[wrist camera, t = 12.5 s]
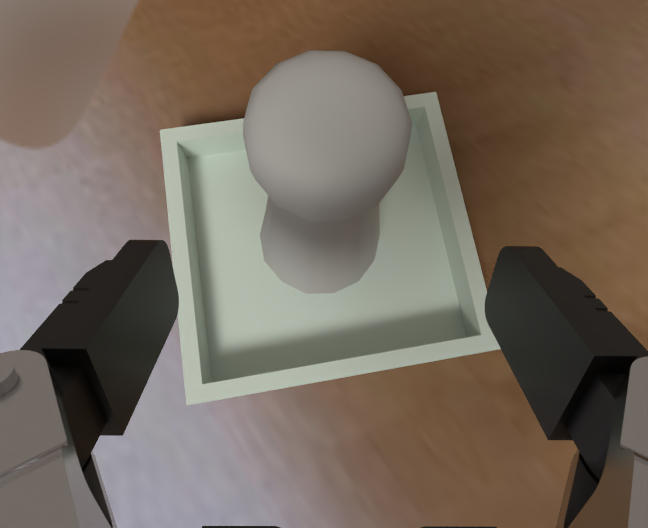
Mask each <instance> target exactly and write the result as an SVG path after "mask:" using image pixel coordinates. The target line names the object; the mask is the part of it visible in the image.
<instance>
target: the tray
mask: <svg viewBox="0 0 648 528" xmlns="http://www.w3.org/2000/svg"><path fill="white" fill-rule="evenodd" d="M404 99H405V102H406V105H407V109H408V112H409V115H410V118H411V121H412V128H411V136H410V141H409V146H408V151H407V156H406V161H405V165H404V170H403V172H402V173H401V175H400V176H399V178H398V180H397V181H396V182H395V183H394V185H393V186H392V187H391V189H390V190H389V191H388V192H387V194H386V195H385V196H384V198H383V199H382V200H381V201H380V203H379V224H380V236H379V241H378V246H377V251H376V256H375V260H374V262H373V263H372V264H371V266H370V267H369V268H368V270H367V271H366V272H365V274H364V275H363V276H362V277H361V279H360V280H359V281H358V282H356V283H354V284H352V285H350V286H348V287H346V288H344V289H342V290H340V291H338V292H335V293H319V294H306V293H304V292H302V291H300V290H298V289H295V288H293V287H291V286H289V285H287V284H285V283H283V282H282V281H281V280H280V279H279V278H278V277H277V275H276V274H275V273H274V272H273V271H272V269H271V268H270V267H269V266H268V265H267V263H266V262H265V261H264V256H263V251H262V245H261V240H260V232H261V227H262V223H263V219H264V215H265V211H266V205H267V199H268V194H267V193H266V192H265V191H264V189H263V188H262V187H261V186H260V185H259V183H258V182H257V181H256V180H255V178H254V176H253V174H252V172H251V171H250V167H249V162H248V157H247V152H246V147H245V142H244V137H243V121H244V118H242V119H235V120H228V121H221V122H214V123H206V124H199V125H192V126H185V127H177V128H170V129H163V130H160V136H161V147H162V157H163V167H164V178H165V188H166V198H167V209H168V219H169V229H170V240H171V250H172V260H173V271H174V276H175V280H176V285H177V289H178V294H179V308H178V322H179V333H180V343H181V353H182V364H183V374H184V384H185V395H186V405H192V404H198V403H203V402H209V401H214V400H220V399H226V398H231V397H237V396H242V395H248V394H253V393H259V392H264V391H270V390H276V389H281V388H287V387H292V386H298V385H303V384H309V383H315V382H320V381H326V380H331V379H337V378H342V377H348V376H353V375H359V374H365V373H370V372H376V371H381V370H387V369H392V368H398V367H403V366H409V365H415V364H420V363H426V362H431V361H437V360H442V359H448V358H454V357H459V356H465V355H470V354H476V353H481V352H487V351H492V350H498V349H501V348H500V346H499V344H498V342H497V340H496V338H495V336H494V335H493V333H492V331H491V329H490V327H489V325H488V323H487V320H486V317H485V298H486V294H487V290H486V286H485V282H484V278H483V274H482V270H481V266H480V262H479V258H478V254H477V251H476V247H475V243H474V239H473V235H472V231H471V227H470V223H469V219H468V215H467V211H466V207H465V203H464V200H463V196H462V192H461V188H460V184H459V180H458V176H457V172H456V168H455V164H454V160H453V156H452V152H451V149H450V145H449V141H448V137H447V133H446V129H445V125H444V121H443V117H442V113H441V109H440V105H439V101H438V98H437V94H436V92H431V93H423V94H416V95H409V96H404Z"/></svg>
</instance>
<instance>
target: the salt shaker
mask: <svg viewBox="0 0 648 528" xmlns="http://www.w3.org/2000/svg"><path fill="white" fill-rule="evenodd" d="M411 128H412V121H411V118H410V115H409V112H408V109H407V105H406V102H405V99H404V96H403V93H402V90H401V89H400V88H399V87H398V86H397V85H396V84H395V83H394V82H393V80H392V79H391V78H390V77H389V76H388V75H387V74H386V73H385V72H384V71H383V70H382V69H381V67H380V66H379V65H377V64H375V63H373V62H370V61H368V60H365V59H363V58H360V57H358V56H356V55H353V54H351V53H348V52H346V51H317V50H309V51H306V52H304V53H301V54H299V55H297V56H294V57H292V58H290V59H287V60H285V61H282V62H280V63H278V64H276V65H275V66H274V67H273V68H272V69H271V70H270V71H269V72H268V73H267V74H266V75H265V76H264V77H263V78H262V79H261V80H260V81H259V83H258V84H257V85H256V86H255V87H254V88H253V89H252V92H251V95H250V99H249V103H248V106H247V110H246V114H245V117H244V121H243V137H244V142H245V147H246V152H247V157H248V162H249V167H250V171H251V172H252V174H253V176H254V178H255V180H256V181H257V182H258V183H259V185H260V186H261V187H262V188H263V189H264V191H265V192H266V193H267V194H268V199H267V205H266V211H265V215H264V219H263V223H262V227H261V232H260V240H261V245H262V251H263V256H264V261H265V262H266V263H267V265H268V266H269V267H270V268H271V269H272V271H273V272H274V273H275V274H276V275H277V277H278V278H279V279H280V280H281V281H282V282H283V283H285V284H287V285H289V286H291V287H293V288H295V289H298V290H300V291H302V292H304V293H306V294H319V293H335V292H338V291H340V290H342V289H344V288H346V287H348V286H350V285H352V284H354V283H356V282H358V281H359V280H360V279H361V277H362V276H363V275H364V274H365V272H366V271H367V270H368V268H369V267H370V266H371V264H372V263H373V262H374V260H375V256H376V251H377V246H378V241H379V236H380V224H379V203H380V201H381V200H382V199H383V198H384V196H385V195H386V194H387V192H388V191H389V190H390V189H391V187H392V186H393V185H394V183H395V182H396V181H397V180H398V178H399V176H400V175H401V173H402V172H403V170H404V165H405V161H406V156H407V151H408V146H409V141H410V136H411Z"/></svg>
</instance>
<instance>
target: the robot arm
mask: <svg viewBox="0 0 648 528" xmlns="http://www.w3.org/2000/svg"><path fill="white" fill-rule="evenodd" d="M595 296H596V295H595V294H594V293H593V292H592V291H591V290H590V289H589V288H588V287H587V286H586V285H585V284H584V283H583V281H582V280H580V279H578V278H577V277H575V276H574V275H572V274H570V273H569V272H567V271H566V270H564V269H562V268H558V267H557V265H556V264H555V263H554V262H553V261H552V260H551V259H550V258H549V256H548V255H547V254H546V253H545V252H544V251H543V250H542V249H541V248H540V247H526V246H505V247H503V248H502V250H501V251H500V253H499V255H498V259H497V262H496V265H495V268H494V272H493V275H492V278H491V281H490V285H489V288H488V291H487V294H486V298H485V317H486V320H487V323H488V325H489V327H490V329H491V331H492V333H493V335H494V336H495V338H496V340H497V342H498V344H499V346H500V348H501V350H502V352H503V354H504V356H505V358H506V360H507V362H508V363H509V365H510V367H511V369H512V371H513V373H514V375H515V377H516V379H517V381H518V383H519V385H520V387H521V388H522V390H523V392H524V394H525V396H526V398H527V400H528V402H529V404H530V406H531V408H532V410H533V412H534V414H535V415H536V417H537V419H538V421H539V423H540V425H541V427H542V429H543V431H544V433H545V435H546V437H547V439H548V440H573V441H574V443H575V444H576V446H577V448H578V450H577V452H576V453H575V455H574V456H573V459H572V462H571V466H570V471H569V475H568V479H567V483H566V487H565V492H564V496H563V500H562V504H561V508H560V513H559V517H558V521H557V525H556V528H648V351H647V350H646V349H645V348H644V347H643V346H642V345H641V343H640V342H639V341H638V340H637V339H636V338H635V337H634V336H633V335H632V334H631V333H630V332H629V331H628V330H627V329H626V327H625V326H624V325H623V324H622V323H621V322H620V321H619V320H618V319H617V318H616V317H615V316H614V315H613V314H612V312H608V311H607V309H608V308H607V307H606V306H605V305H604V304H603V303H602V302H601V301H600V300H599V299H596V298H595ZM62 301H63V303H62V304H59V305H58V306H57V307H56V308H55V310H54V311H53V312H52V313H51V314H50V315H49V316H48V318H47V319H46V320H45V321H44V322H43V323H42V325H41V326H40V327H39V328H38V329H37V330H36V332H35V333H34V334H33V335H32V336H31V337H30V338H29V340H28V341H27V342H26V343H25V344H24V345H23V347H22V348H21V349H20V350H16V351H9V352H4V353H0V528H117V526H116V523H115V519H114V516H113V513H112V510H111V507H110V503H109V500H108V497H107V494H106V491H105V487H104V484H103V481H102V478H101V474H100V471H99V468H98V465H97V462H96V458H95V456H94V454H93V452H92V450H93V448H94V446H95V444H96V442H97V440H98V438H99V436H100V435H123V434H124V431H125V429H126V427H127V425H128V423H129V421H130V418H131V416H132V414H133V412H134V410H135V407H136V405H137V403H138V401H139V399H140V396H141V394H142V392H143V390H144V388H145V385H146V383H147V381H148V379H149V377H150V374H151V372H152V370H153V368H154V366H155V364H156V361H157V359H158V357H159V355H160V353H161V350H162V348H163V346H164V344H165V342H166V339H167V337H168V335H169V333H170V331H171V328H172V326H173V324H174V322H175V320H176V317H177V314H178V308H179V294H178V289H177V285H176V280H175V276H174V271H173V267H172V262H171V258H170V253H169V249H168V246H167V244H166V243H165V241H163V240H129V241H128V242H127V243H126V244H125V245H124V246H123V247H122V249H121V250H120V251H119V252H118V254H117V255H116V256H115V257H114V259H113V260H106V261H104V262H103V263H101V264H100V265H98V266H96V267H95V268H93V269H92V270H90V271H88V272H87V273H86V274H85V275H84V276H83V277H82V278H81V279H80V281H79V282H78V283H77V284H76V285H75V286H74V288H73V291H70V292H69V293H68V295H67V296H66V297H65V298H64V299H63V300H62ZM202 528H280V527H276V526H202ZM422 528H497V527H422Z"/></svg>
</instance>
